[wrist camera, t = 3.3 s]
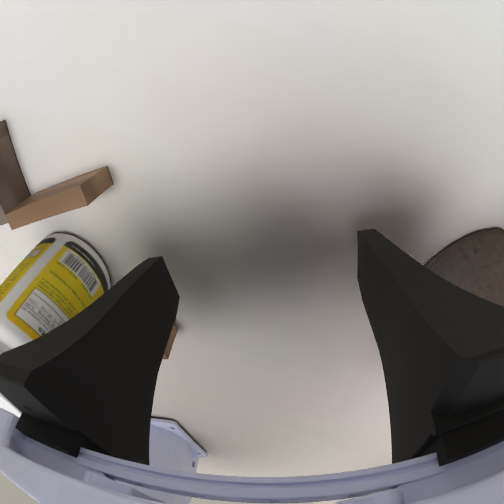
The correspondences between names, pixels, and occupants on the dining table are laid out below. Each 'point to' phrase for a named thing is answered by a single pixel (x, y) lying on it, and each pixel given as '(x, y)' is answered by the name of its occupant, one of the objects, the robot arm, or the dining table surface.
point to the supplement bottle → (48, 292)
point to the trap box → (47, 196)
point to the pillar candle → (474, 264)
